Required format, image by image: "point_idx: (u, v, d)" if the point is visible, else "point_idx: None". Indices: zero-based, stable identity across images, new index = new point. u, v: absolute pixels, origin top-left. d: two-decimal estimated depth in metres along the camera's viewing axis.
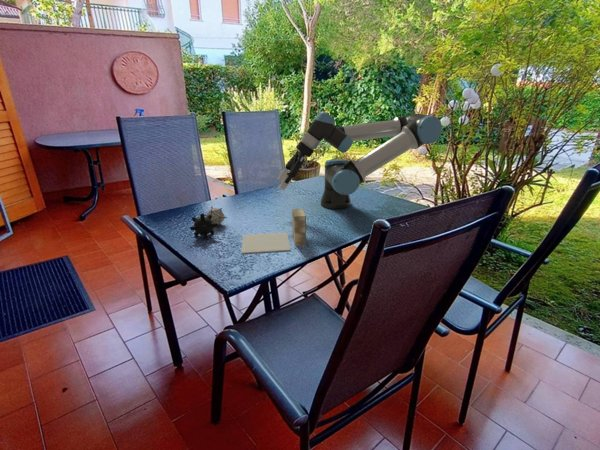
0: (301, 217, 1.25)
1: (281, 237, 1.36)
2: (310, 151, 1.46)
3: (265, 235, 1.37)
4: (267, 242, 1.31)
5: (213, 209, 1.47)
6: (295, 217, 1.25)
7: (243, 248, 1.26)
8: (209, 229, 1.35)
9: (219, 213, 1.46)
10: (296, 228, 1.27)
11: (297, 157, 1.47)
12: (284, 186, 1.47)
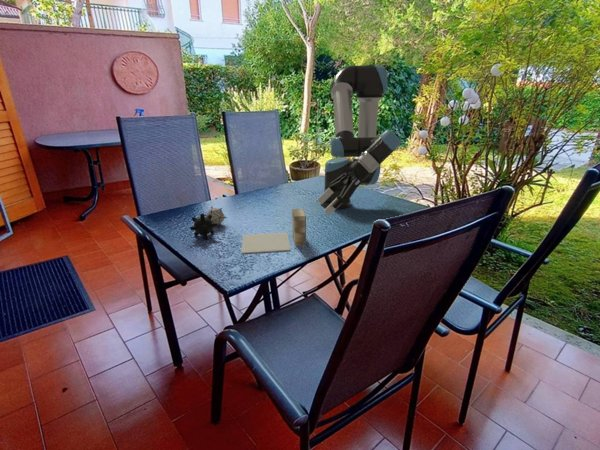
0: (301, 217, 1.25)
1: (281, 237, 1.36)
2: (366, 174, 1.23)
3: (265, 235, 1.37)
4: (267, 242, 1.31)
5: (213, 209, 1.47)
6: (295, 217, 1.25)
7: (243, 248, 1.26)
8: (209, 229, 1.35)
9: (219, 213, 1.46)
10: (296, 228, 1.27)
11: (350, 179, 1.24)
12: (330, 211, 1.22)
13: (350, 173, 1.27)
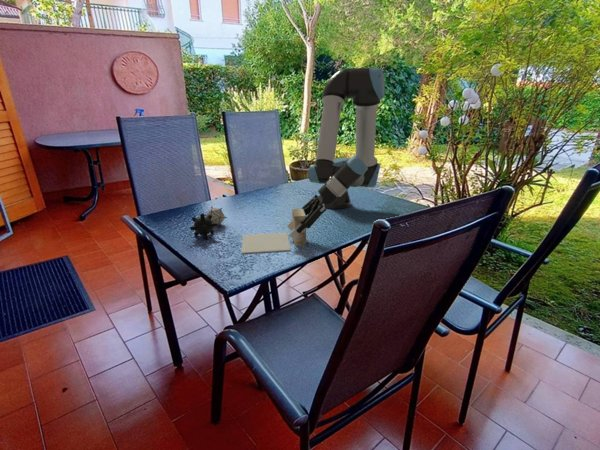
0: (301, 217, 1.25)
1: (281, 237, 1.36)
2: (334, 199, 1.25)
3: (265, 235, 1.37)
4: (267, 242, 1.31)
5: (213, 209, 1.47)
6: (295, 217, 1.25)
7: (243, 248, 1.26)
8: (209, 229, 1.35)
9: (219, 213, 1.46)
10: None
11: (318, 203, 1.26)
12: (295, 235, 1.27)
13: (319, 197, 1.29)
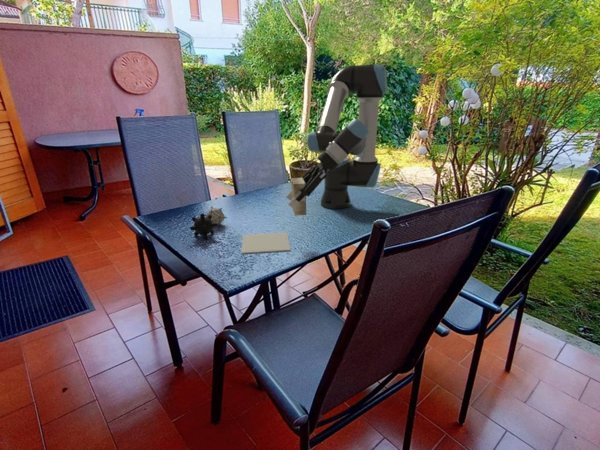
0: (300, 185, 1.21)
1: (281, 237, 1.36)
2: (335, 165, 1.20)
3: (265, 235, 1.37)
4: (267, 242, 1.31)
5: (213, 209, 1.47)
6: (294, 185, 1.20)
7: (243, 248, 1.26)
8: (209, 229, 1.35)
9: (219, 213, 1.46)
10: None
11: (318, 170, 1.21)
12: (294, 204, 1.22)
13: (319, 164, 1.24)
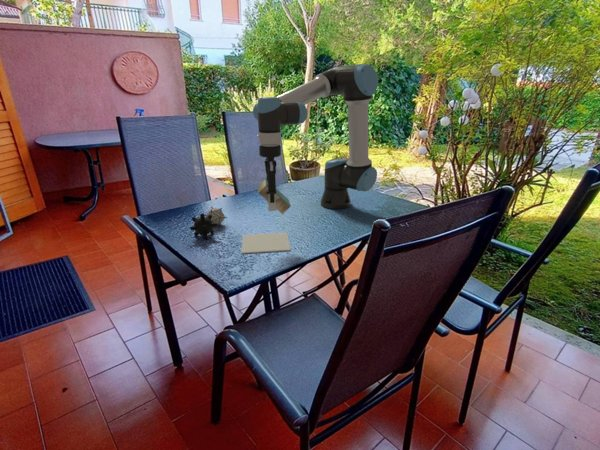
0: (264, 188, 1.19)
1: (281, 237, 1.36)
2: (276, 149, 1.15)
3: (265, 235, 1.37)
4: (267, 242, 1.31)
5: (213, 209, 1.47)
6: (259, 193, 1.20)
7: (243, 248, 1.26)
8: (209, 229, 1.35)
9: (219, 213, 1.46)
10: None
11: (267, 165, 1.18)
12: (273, 206, 1.21)
13: None
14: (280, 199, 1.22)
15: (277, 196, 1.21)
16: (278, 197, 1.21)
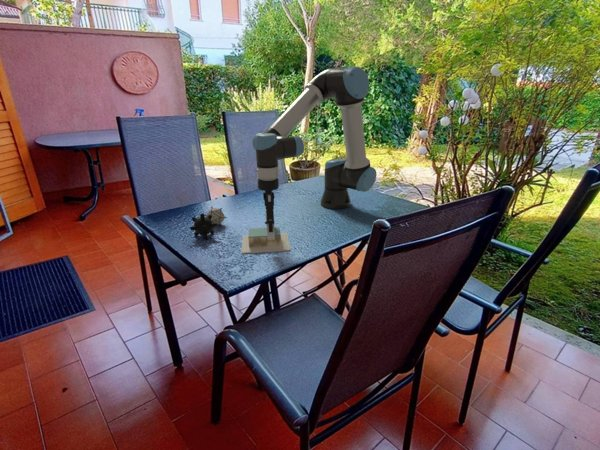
0: (250, 240, 1.26)
1: (281, 237, 1.36)
2: (273, 183, 1.20)
3: None
4: None
5: (213, 209, 1.47)
6: (250, 246, 1.27)
7: (243, 248, 1.26)
8: (209, 229, 1.35)
9: (219, 213, 1.46)
10: (262, 244, 1.28)
11: (265, 197, 1.23)
12: (272, 235, 1.23)
13: None
14: None
15: (264, 237, 1.27)
16: (265, 237, 1.27)
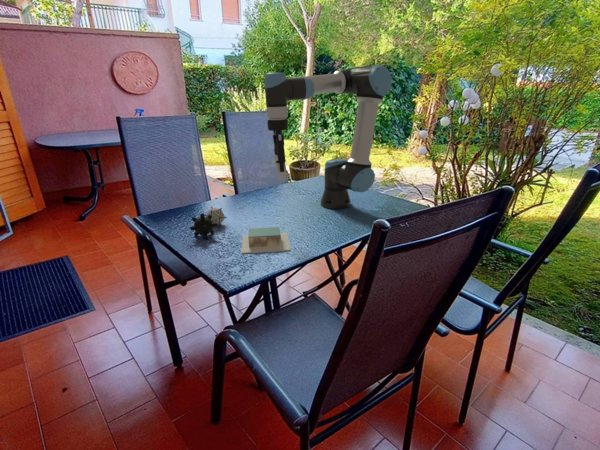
0: (250, 240, 1.26)
1: (281, 237, 1.36)
2: (283, 123, 1.22)
3: None
4: None
5: (213, 209, 1.47)
6: (250, 246, 1.27)
7: (243, 248, 1.26)
8: (209, 229, 1.35)
9: (219, 213, 1.46)
10: (262, 244, 1.28)
11: (275, 138, 1.25)
12: (283, 175, 1.26)
13: None
14: (268, 237, 1.27)
15: (264, 237, 1.27)
16: (265, 237, 1.27)
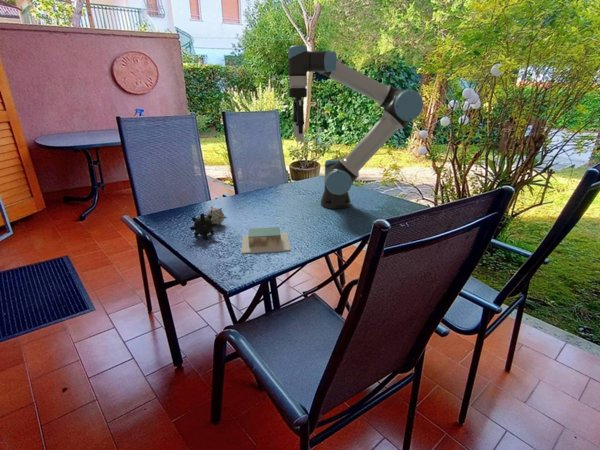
0: (250, 240, 1.26)
1: (281, 237, 1.36)
2: (303, 90, 1.40)
3: None
4: None
5: (213, 209, 1.47)
6: (250, 246, 1.27)
7: (243, 248, 1.26)
8: (209, 229, 1.35)
9: (219, 213, 1.46)
10: (262, 244, 1.28)
11: None
12: (301, 137, 1.43)
13: (295, 100, 1.45)
14: (268, 237, 1.27)
15: (264, 237, 1.27)
16: (265, 237, 1.27)
